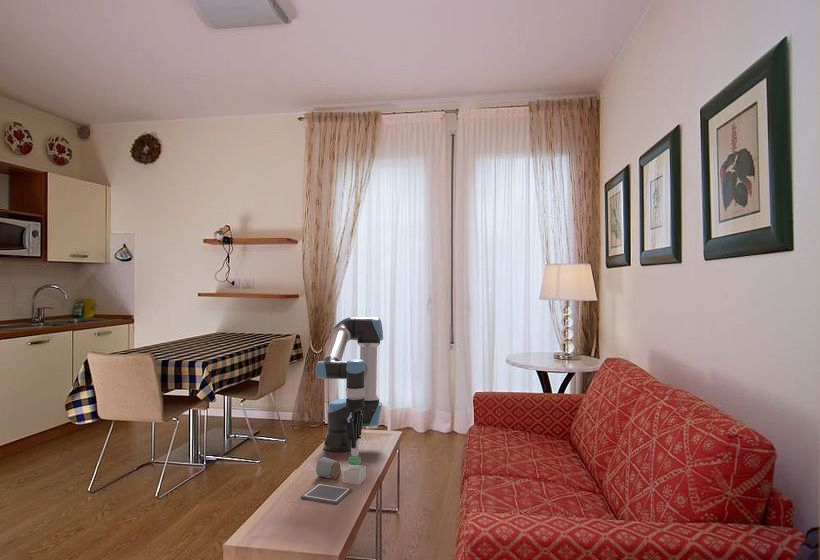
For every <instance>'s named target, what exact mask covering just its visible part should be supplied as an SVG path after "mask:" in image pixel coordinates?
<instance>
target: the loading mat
mask: <svg viewBox="0 0 820 560" xmlns="http://www.w3.org/2000/svg"><path fill="white" fill-rule="evenodd" d="M352 491H353V488H351V487H345V486H337V485H333V484H332V485H331V484H326V483H325V484H324V483H320V482H319V483H317V484H315V485H314V486H313V487H312V488H310V489H309V490H307V491H306V492H305V493H303V494H302V495H301V496H300V499H302V500H308V501H312V500H313V501H314V502H319V503H324V504H330V503H331V505H338V504H339V503H340V502H342V500H344V499H345V498H346V497H347V496H348V495H350V494H351V492H352ZM313 501H312V502H313Z"/></svg>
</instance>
